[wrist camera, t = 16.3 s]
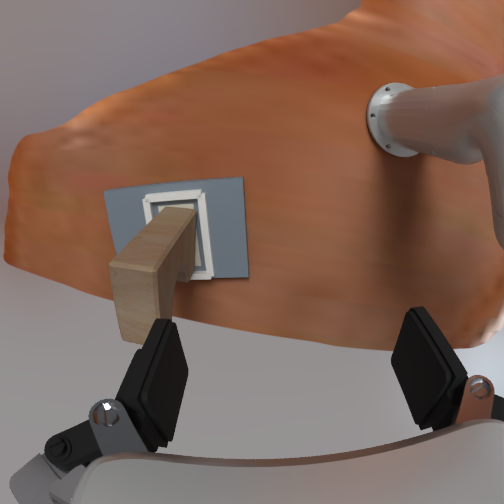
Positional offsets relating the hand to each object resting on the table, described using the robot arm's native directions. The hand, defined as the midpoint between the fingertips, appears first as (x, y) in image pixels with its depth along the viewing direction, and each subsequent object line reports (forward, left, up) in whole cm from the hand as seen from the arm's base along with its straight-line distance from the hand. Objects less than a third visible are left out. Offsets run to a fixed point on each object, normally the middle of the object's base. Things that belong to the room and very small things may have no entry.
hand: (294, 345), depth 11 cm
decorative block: (+15, +9, -35) cm, 39 cm away
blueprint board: (+16, +9, -36) cm, 41 cm away
